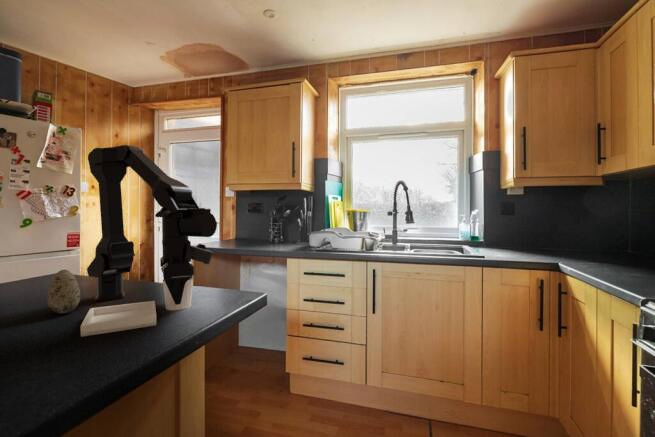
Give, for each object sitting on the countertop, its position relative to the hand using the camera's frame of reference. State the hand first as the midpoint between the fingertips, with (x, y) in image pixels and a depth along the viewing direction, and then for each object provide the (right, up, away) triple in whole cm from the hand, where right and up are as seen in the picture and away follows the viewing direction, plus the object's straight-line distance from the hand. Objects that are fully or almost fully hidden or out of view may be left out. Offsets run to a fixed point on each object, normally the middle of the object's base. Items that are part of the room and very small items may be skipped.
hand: (176, 299), depth 81 cm
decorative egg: (-24, -2, -5) cm, 24 cm away
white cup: (0, -2, 0) cm, 2 cm away
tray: (-7, -2, -10) cm, 13 cm away
